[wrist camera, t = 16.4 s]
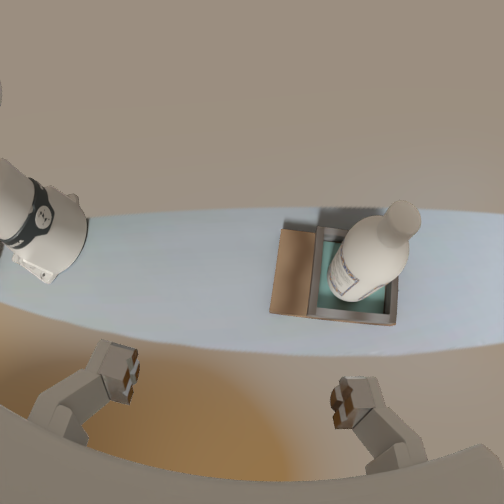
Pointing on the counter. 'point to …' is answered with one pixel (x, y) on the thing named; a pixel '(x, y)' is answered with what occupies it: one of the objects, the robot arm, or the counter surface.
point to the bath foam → (373, 252)
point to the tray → (322, 282)
